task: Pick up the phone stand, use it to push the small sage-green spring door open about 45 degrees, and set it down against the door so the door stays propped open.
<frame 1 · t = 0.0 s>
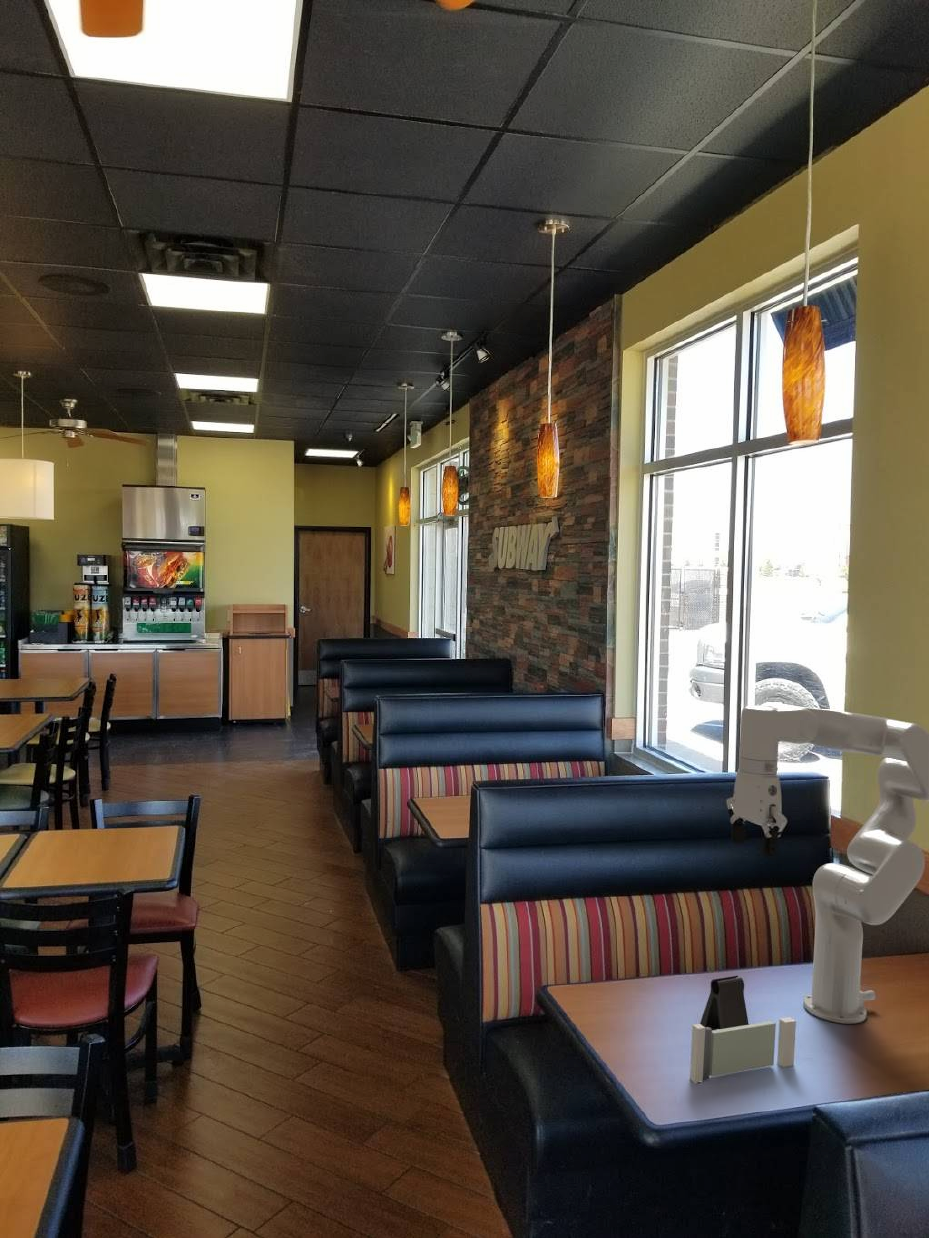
hand: (753, 849, 183), 37 cm above the table, tool pointing down, fingers open, 9 cm apart
door frame: (705, 1078, 163), on the table
phone stand: (724, 1038, 179), on the table
door: (738, 1047, 165), point 5 cm above the table, hinge at 0.0°
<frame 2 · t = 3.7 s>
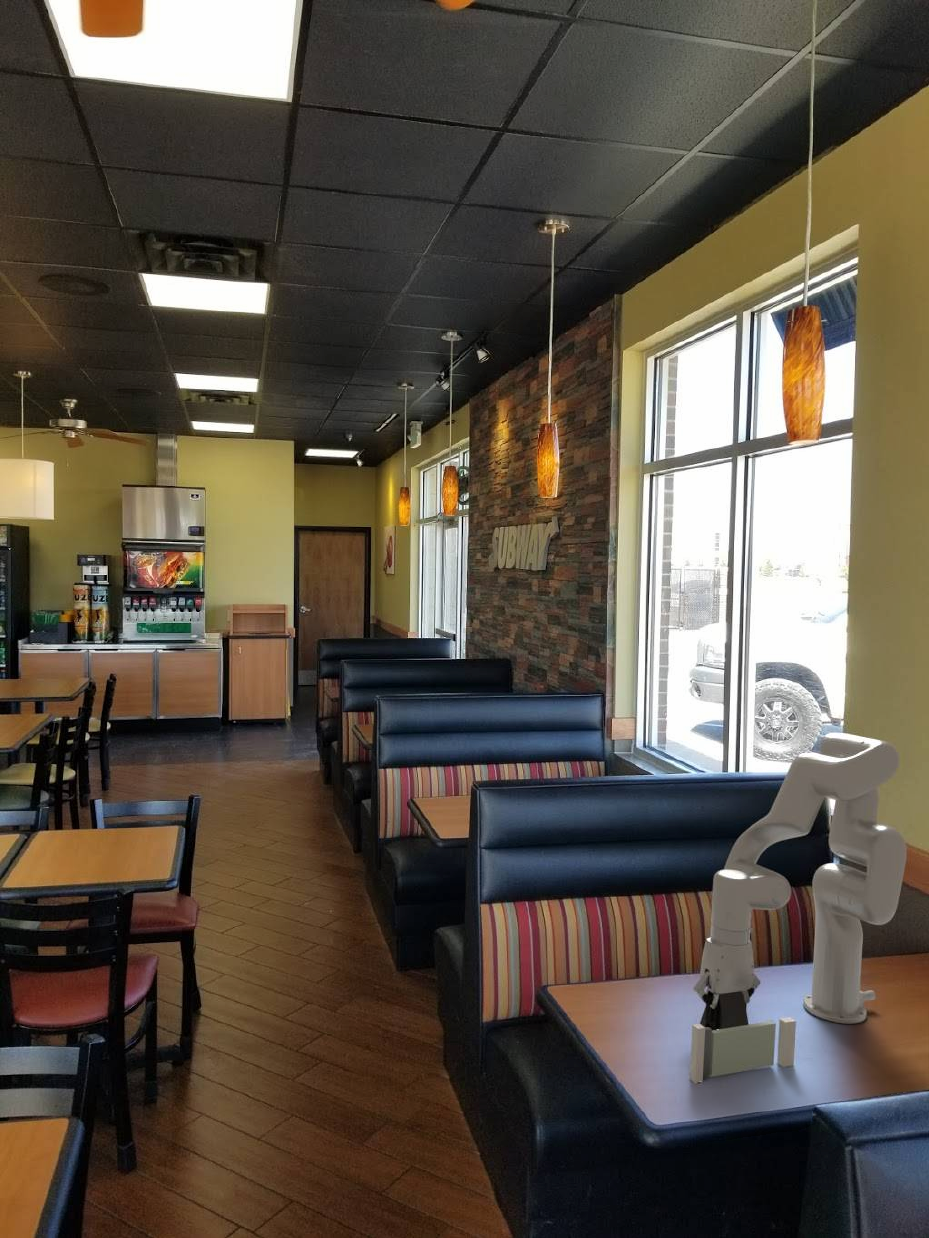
hand: (725, 1021, 179), 3 cm above the table, tool pointing down, fingers closed on phone stand, 6 cm apart
phone stand: (724, 1038, 179), on the table, touching gripper
everything else where it was.
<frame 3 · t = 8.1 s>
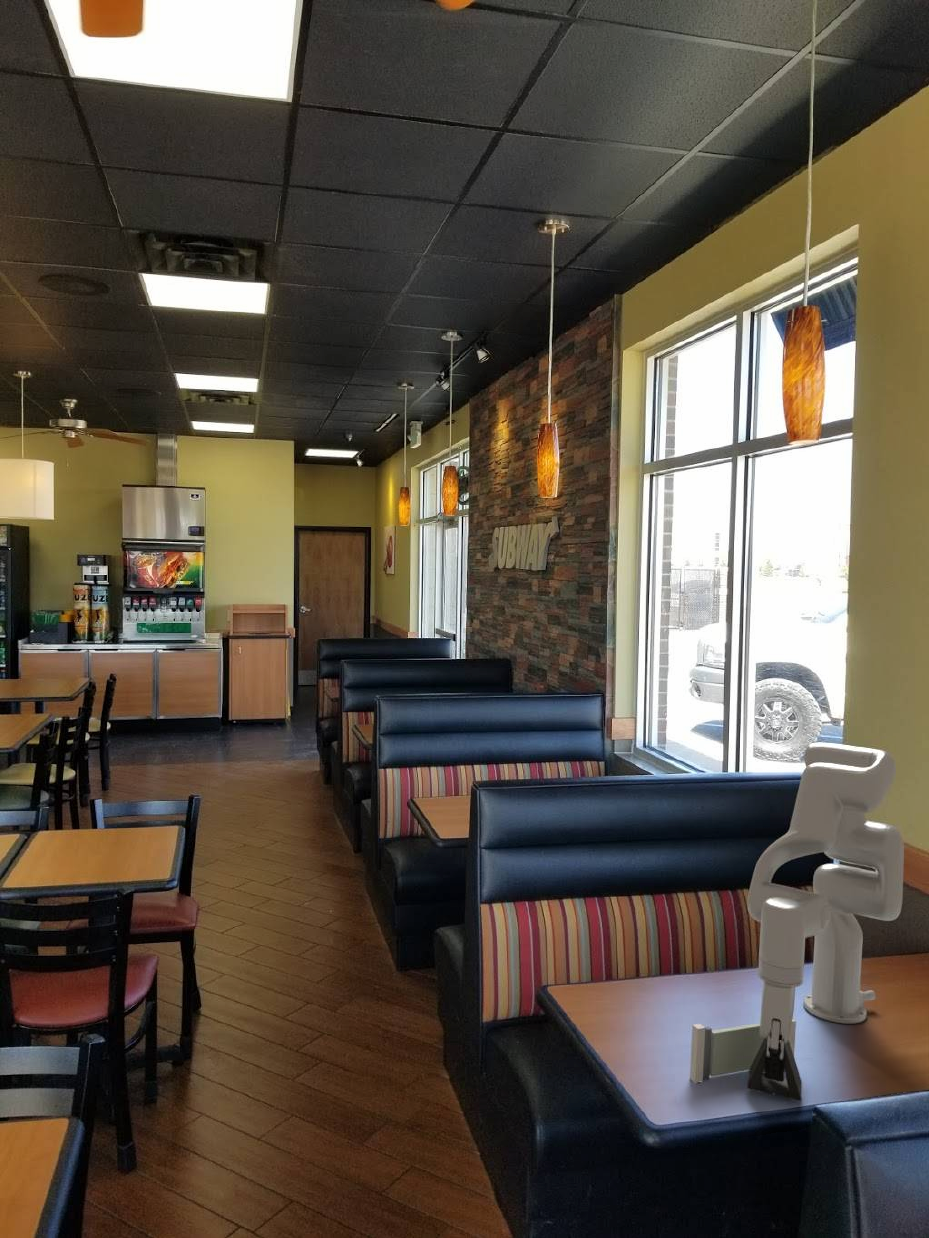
hand: (775, 1068, 159), 4 cm above the table, tool pointing down, fingers closed on phone stand, 6 cm apart
phone stand: (774, 1087, 159), point 1 cm above the table, touching gripper
everything else where it was.
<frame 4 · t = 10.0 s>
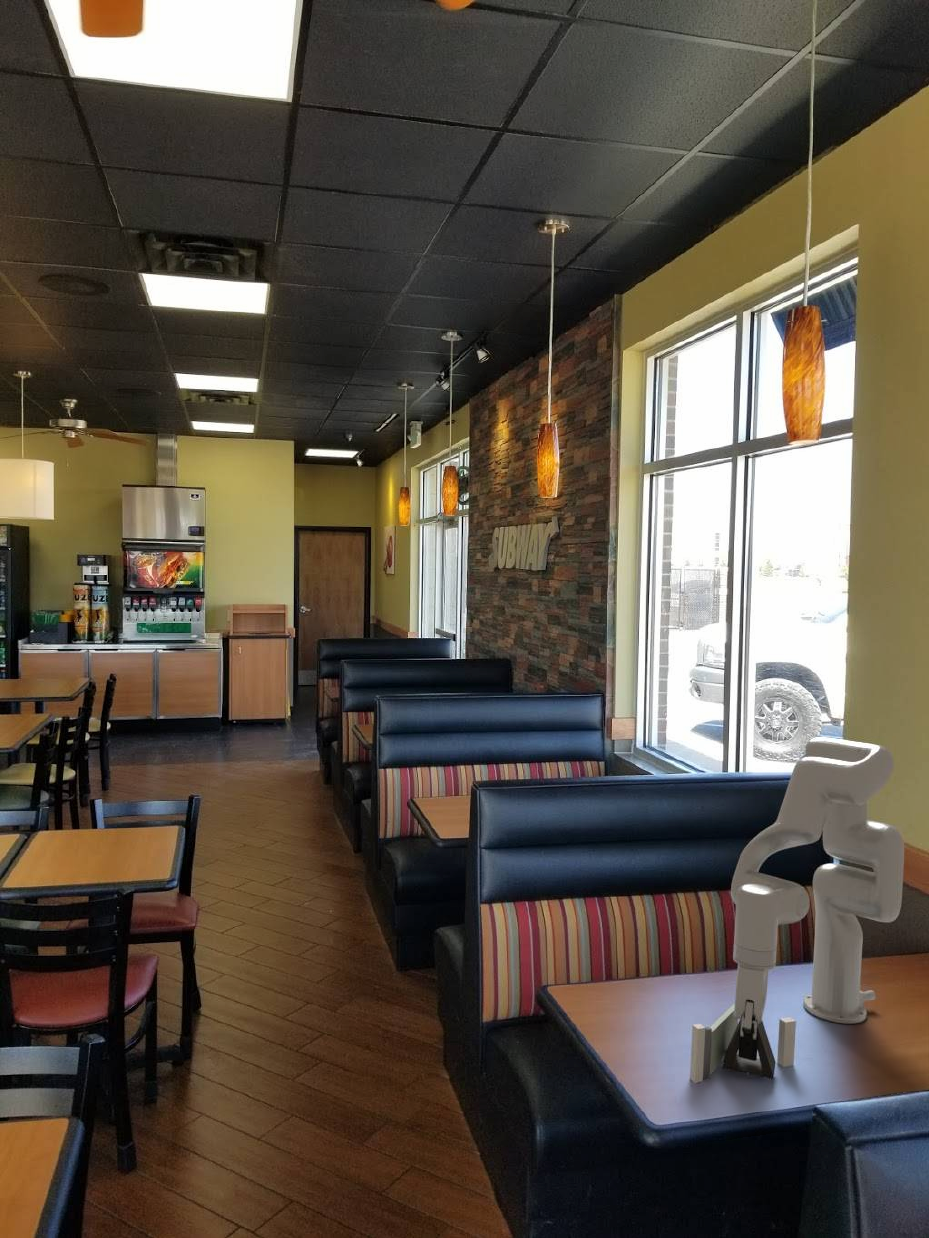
hand: (749, 1049, 165), 5 cm above the table, tool pointing down, fingers closed on phone stand, 6 cm apart
phone stand: (748, 1067, 165), point 1 cm above the table, touching door, gripper
door: (720, 1038, 168), point 5 cm above the table, hinge at 32.4°, touching phone stand
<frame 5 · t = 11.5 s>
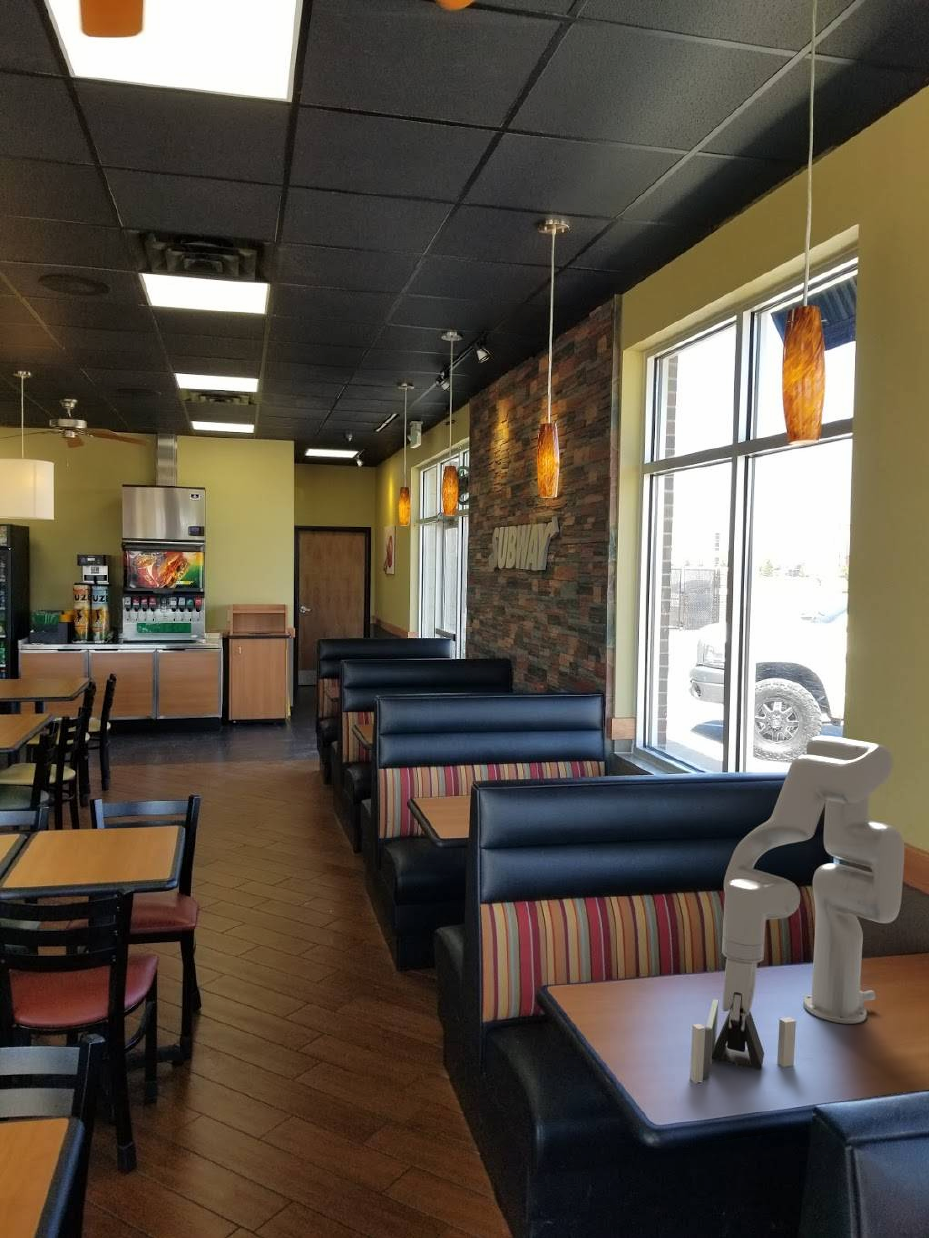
hand: (738, 1040, 168), 4 cm above the table, tool pointing down, fingers closed on phone stand, 6 cm apart
phone stand: (737, 1058, 168), point 1 cm above the table, touching door, gripper
door: (710, 1035, 169), point 5 cm above the table, hinge at 47.5°, touching phone stand
when the fingers open (4 cm above the table, at t = 12.8 s): phone stand drops 1 cm, on the table.
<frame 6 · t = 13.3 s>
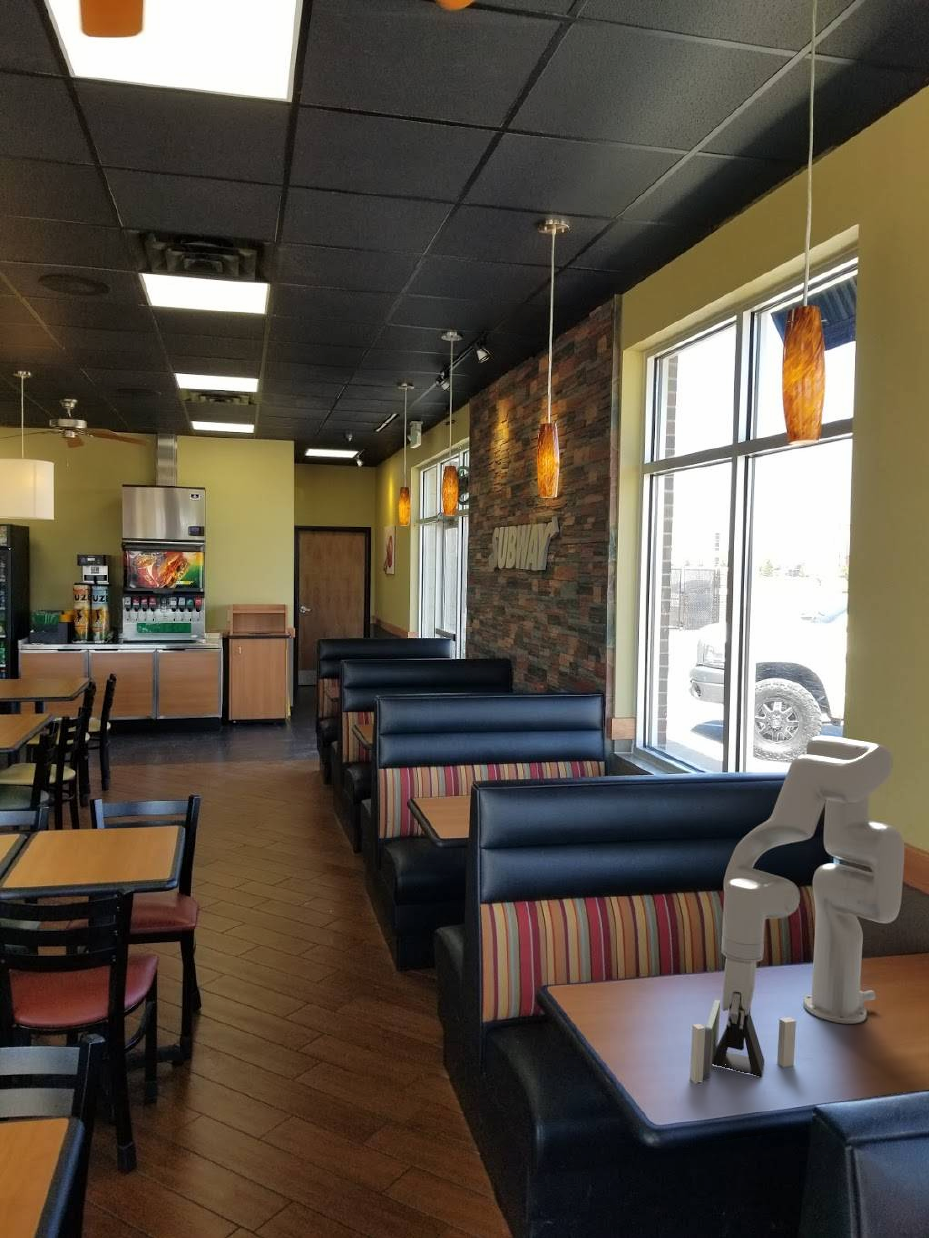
hand: (737, 1036, 168), 5 cm above the table, tool pointing down, fingers open, 9 cm apart
phone stand: (738, 1065, 168), on the table
door: (711, 1035, 169), point 5 cm above the table, hinge at 46.2°
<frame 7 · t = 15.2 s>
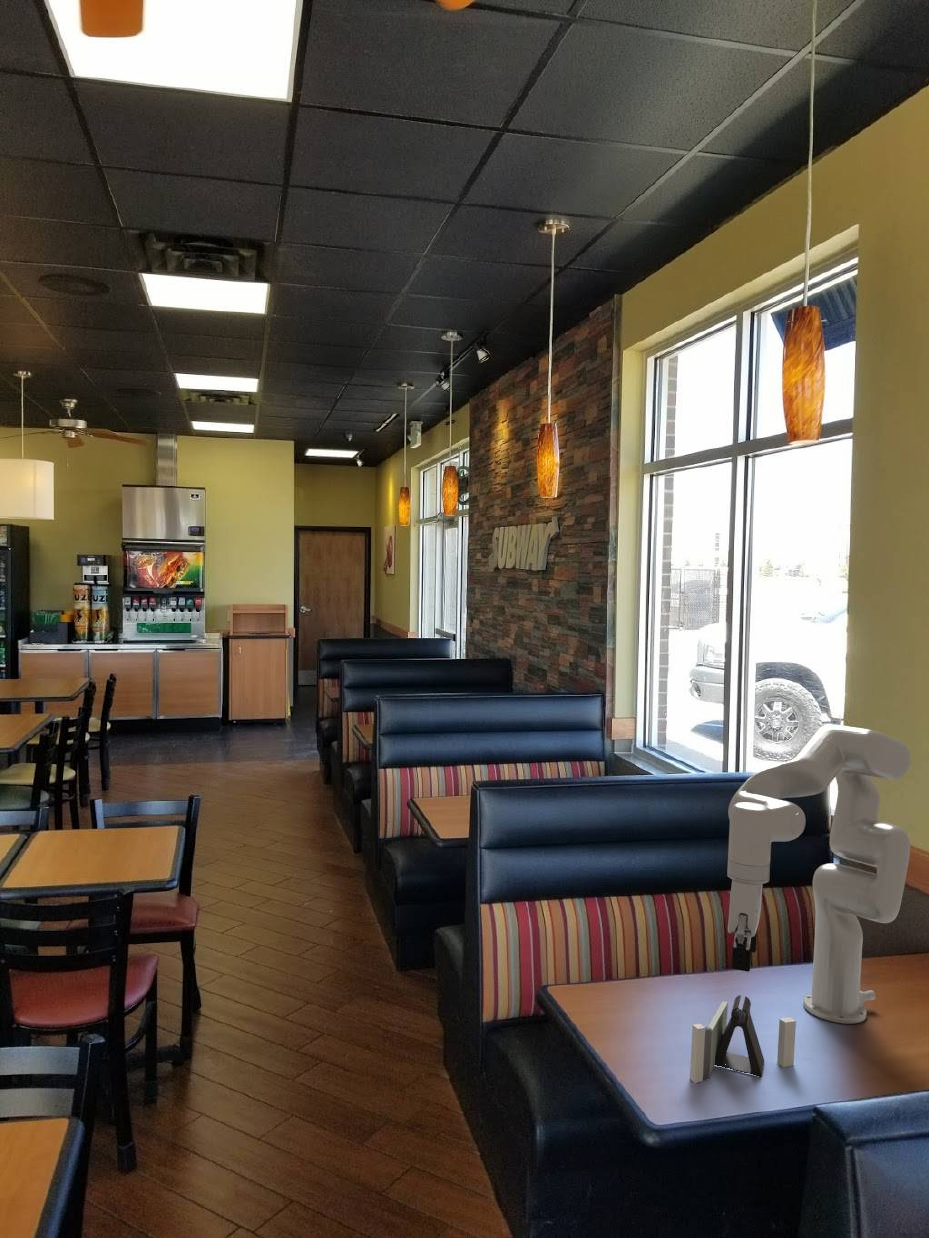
hand: (744, 960, 167), 20 cm above the table, tool pointing down, fingers open, 9 cm apart
door: (715, 1036, 169), point 5 cm above the table, hinge at 40.7°
everything else where it was.
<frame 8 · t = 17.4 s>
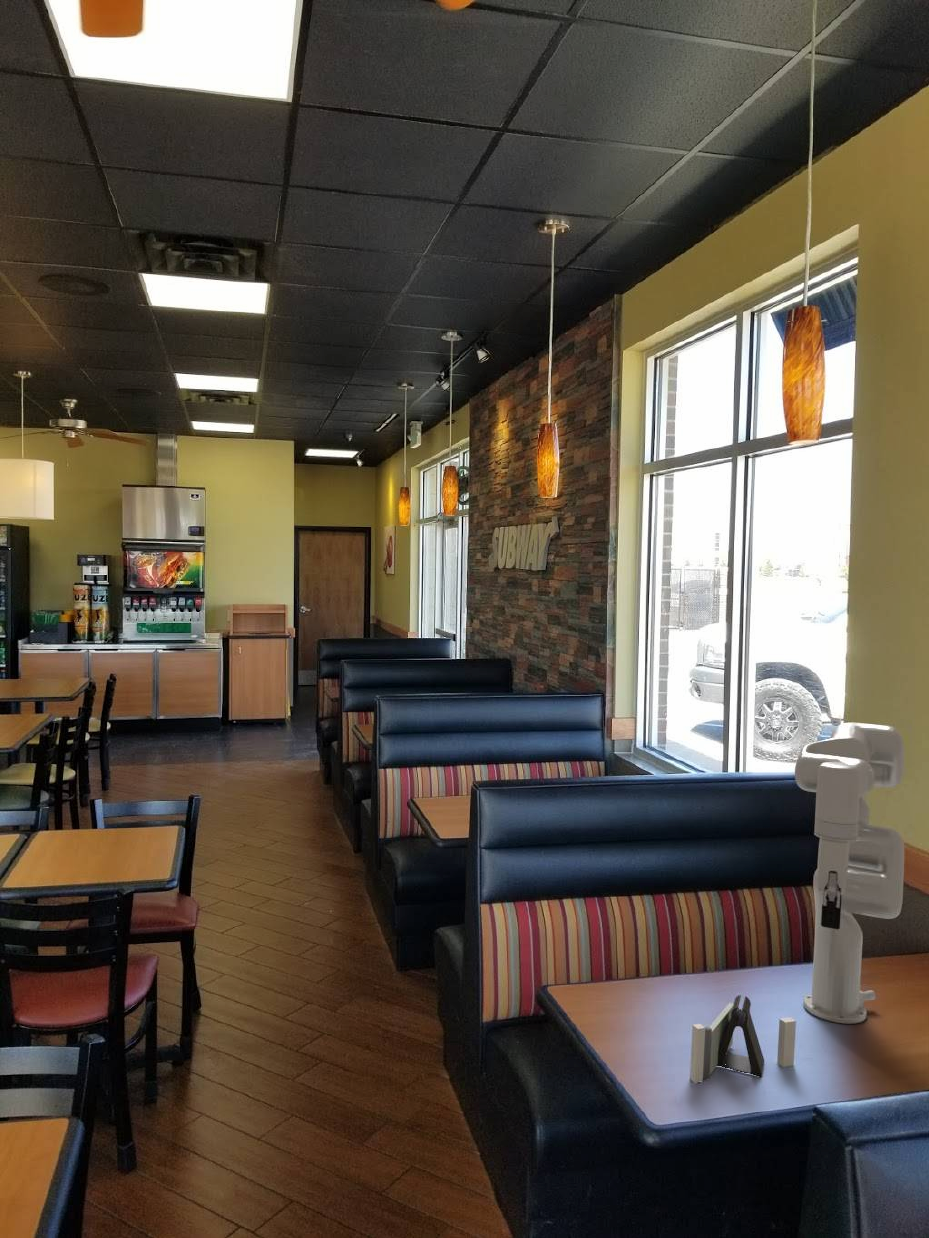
hand: (831, 919, 168), 28 cm above the table, tool pointing down, fingers open, 9 cm apart
door: (718, 1037, 168), point 5 cm above the table, hinge at 35.6°
everything else where it was.
at the end: door at +36° (first picture: +0°); phone stand inside the target area (0.9 cm from its centre), on the table; the gripper is holding nothing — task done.
